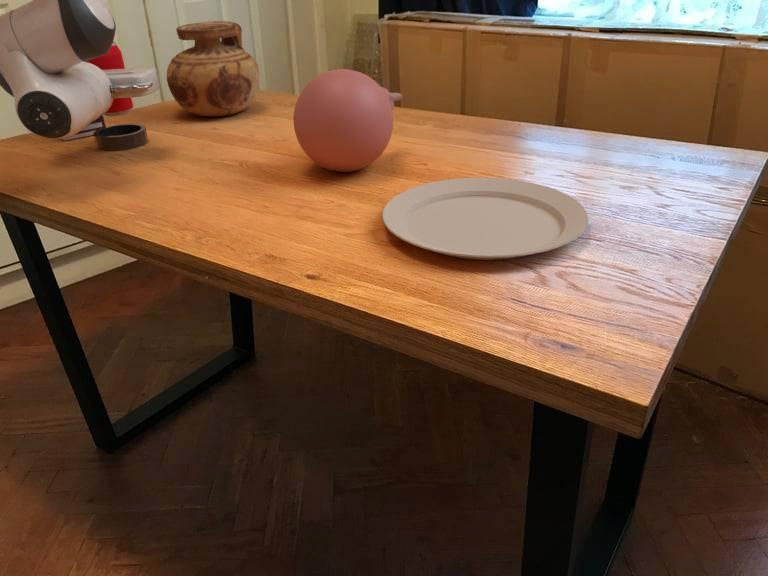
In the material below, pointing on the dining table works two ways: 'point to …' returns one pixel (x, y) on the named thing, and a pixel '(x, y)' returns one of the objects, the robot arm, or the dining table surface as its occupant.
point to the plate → (485, 218)
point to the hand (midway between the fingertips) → (109, 75)
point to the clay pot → (213, 70)
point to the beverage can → (107, 63)
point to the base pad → (120, 137)
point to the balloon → (344, 119)
